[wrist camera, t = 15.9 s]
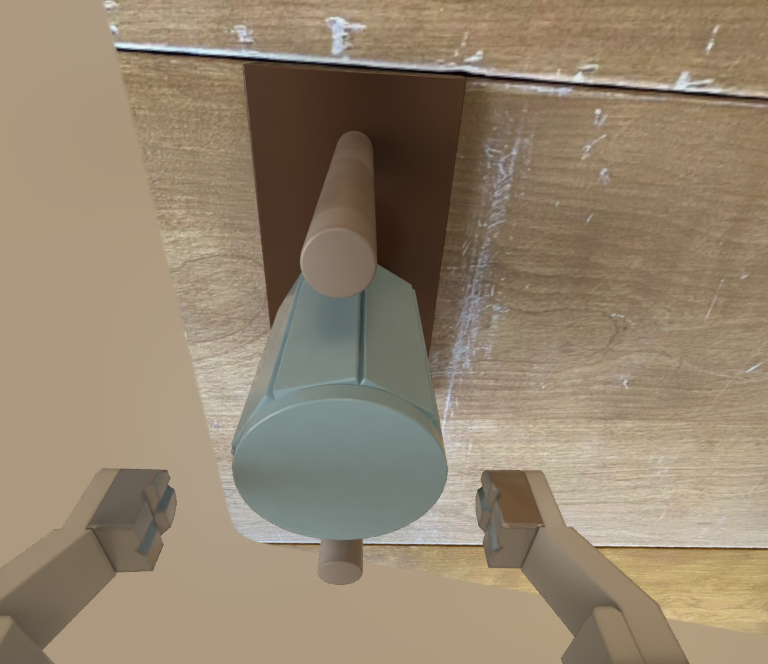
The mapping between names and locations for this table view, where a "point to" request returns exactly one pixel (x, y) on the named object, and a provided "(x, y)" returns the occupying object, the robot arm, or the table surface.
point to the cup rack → (352, 192)
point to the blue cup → (342, 416)
